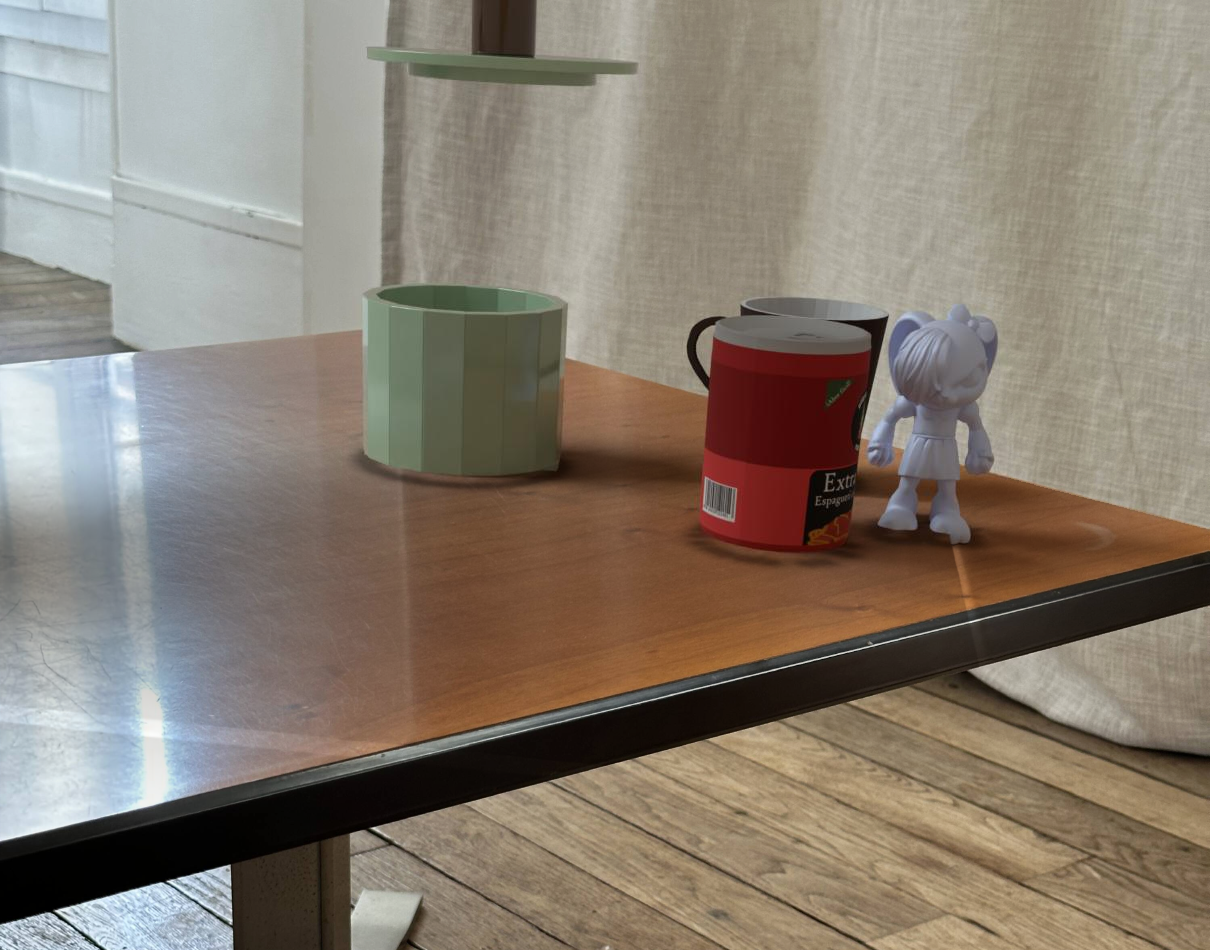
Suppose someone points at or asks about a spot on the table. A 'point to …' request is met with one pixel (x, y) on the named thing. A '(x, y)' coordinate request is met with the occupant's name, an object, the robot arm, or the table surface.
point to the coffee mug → (805, 308)
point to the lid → (502, 52)
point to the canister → (463, 378)
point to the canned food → (783, 432)
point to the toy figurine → (936, 412)
